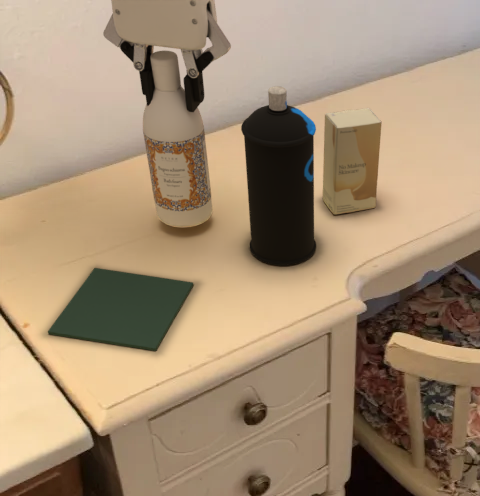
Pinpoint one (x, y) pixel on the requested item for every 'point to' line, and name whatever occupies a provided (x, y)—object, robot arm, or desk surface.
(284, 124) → the aerosol can
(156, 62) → the bath foam
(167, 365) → the desk surface
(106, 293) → the mat
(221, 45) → the robot arm
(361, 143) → the cosmetic box
